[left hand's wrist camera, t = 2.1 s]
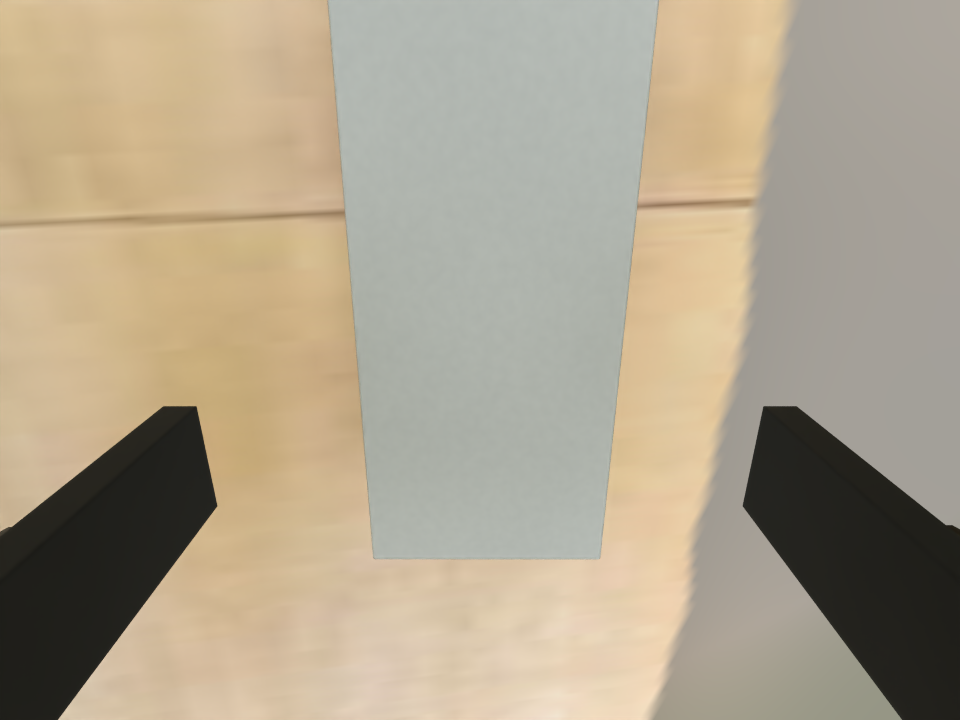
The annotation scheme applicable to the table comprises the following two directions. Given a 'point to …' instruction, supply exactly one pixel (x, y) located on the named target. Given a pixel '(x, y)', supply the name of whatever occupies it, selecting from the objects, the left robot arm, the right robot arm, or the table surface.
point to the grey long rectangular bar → (490, 262)
